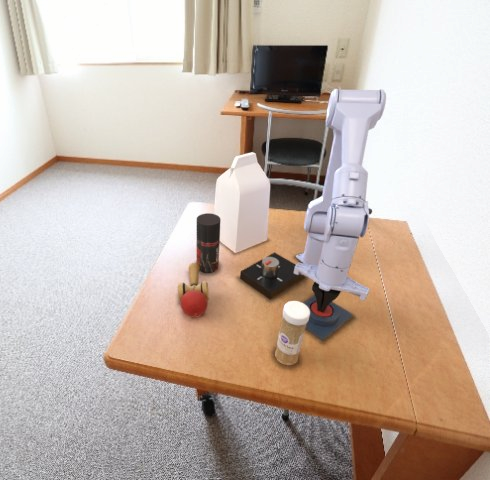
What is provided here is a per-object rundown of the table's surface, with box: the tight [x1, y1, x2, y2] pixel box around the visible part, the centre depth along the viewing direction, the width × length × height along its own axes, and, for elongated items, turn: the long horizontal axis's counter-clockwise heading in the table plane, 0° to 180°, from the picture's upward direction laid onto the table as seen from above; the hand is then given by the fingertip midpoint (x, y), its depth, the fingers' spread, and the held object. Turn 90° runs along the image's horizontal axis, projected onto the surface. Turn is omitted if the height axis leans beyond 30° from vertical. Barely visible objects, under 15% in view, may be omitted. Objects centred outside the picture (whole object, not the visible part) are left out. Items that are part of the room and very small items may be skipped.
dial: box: [261, 256, 279, 278], centre depth 87 cm, size 4×4×4 cm
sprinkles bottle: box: [274, 300, 310, 366], centre depth 66 cm, size 5×5×14 cm
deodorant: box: [196, 212, 221, 275], centre depth 91 cm, size 6×6×15 cm
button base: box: [303, 294, 354, 342], centre depth 78 cm, size 11×9×2 cm
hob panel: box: [239, 252, 305, 300], centre depth 89 cm, size 13×10×3 cm
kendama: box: [177, 262, 210, 318], centre depth 85 cm, size 8×6×18 cm
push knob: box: [311, 302, 332, 317], centre depth 78 cm, size 4×4×2 cm
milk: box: [213, 151, 271, 254], centre depth 99 cm, size 12×12×26 cm
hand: (321, 309), depth 77 cm, fingers closed, pressing on push knob
